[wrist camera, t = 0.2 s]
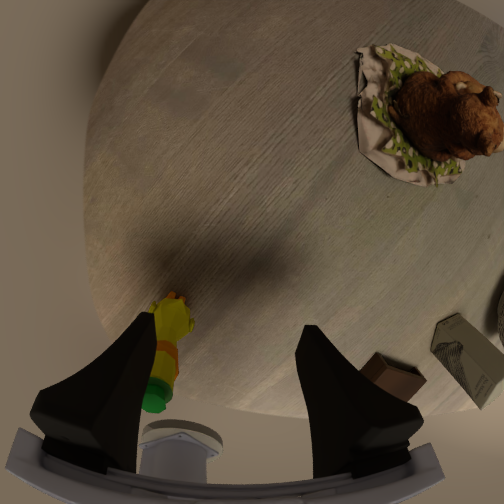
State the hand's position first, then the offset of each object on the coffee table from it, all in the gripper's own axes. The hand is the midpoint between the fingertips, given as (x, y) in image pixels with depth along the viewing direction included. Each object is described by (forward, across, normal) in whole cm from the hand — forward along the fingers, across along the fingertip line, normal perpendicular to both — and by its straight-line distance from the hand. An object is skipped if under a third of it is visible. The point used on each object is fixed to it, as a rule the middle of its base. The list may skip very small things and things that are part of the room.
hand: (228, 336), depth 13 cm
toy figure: (+10, +4, +6) cm, 12 cm away
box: (+10, -29, +10) cm, 32 cm away
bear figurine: (+13, -16, -14) cm, 25 cm away
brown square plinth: (+9, -21, +16) cm, 28 cm away
